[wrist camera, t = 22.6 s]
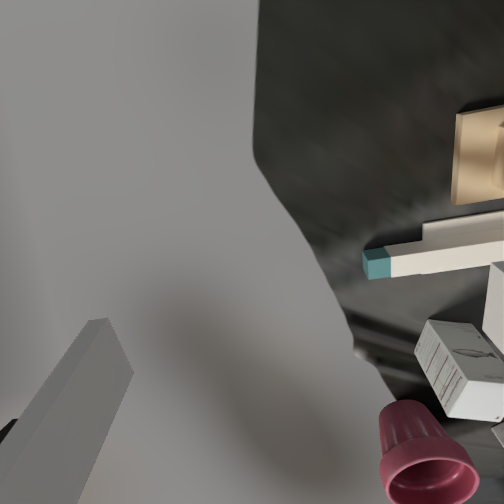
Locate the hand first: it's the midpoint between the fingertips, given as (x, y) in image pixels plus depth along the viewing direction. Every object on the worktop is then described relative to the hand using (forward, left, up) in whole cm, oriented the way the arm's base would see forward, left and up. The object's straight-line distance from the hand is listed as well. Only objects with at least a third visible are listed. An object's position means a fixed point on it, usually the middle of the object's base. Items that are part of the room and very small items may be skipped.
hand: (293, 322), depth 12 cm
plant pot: (+53, +16, -35) cm, 65 cm away
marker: (+18, +21, -34) cm, 44 cm away
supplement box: (+35, +22, -35) cm, 54 cm away
